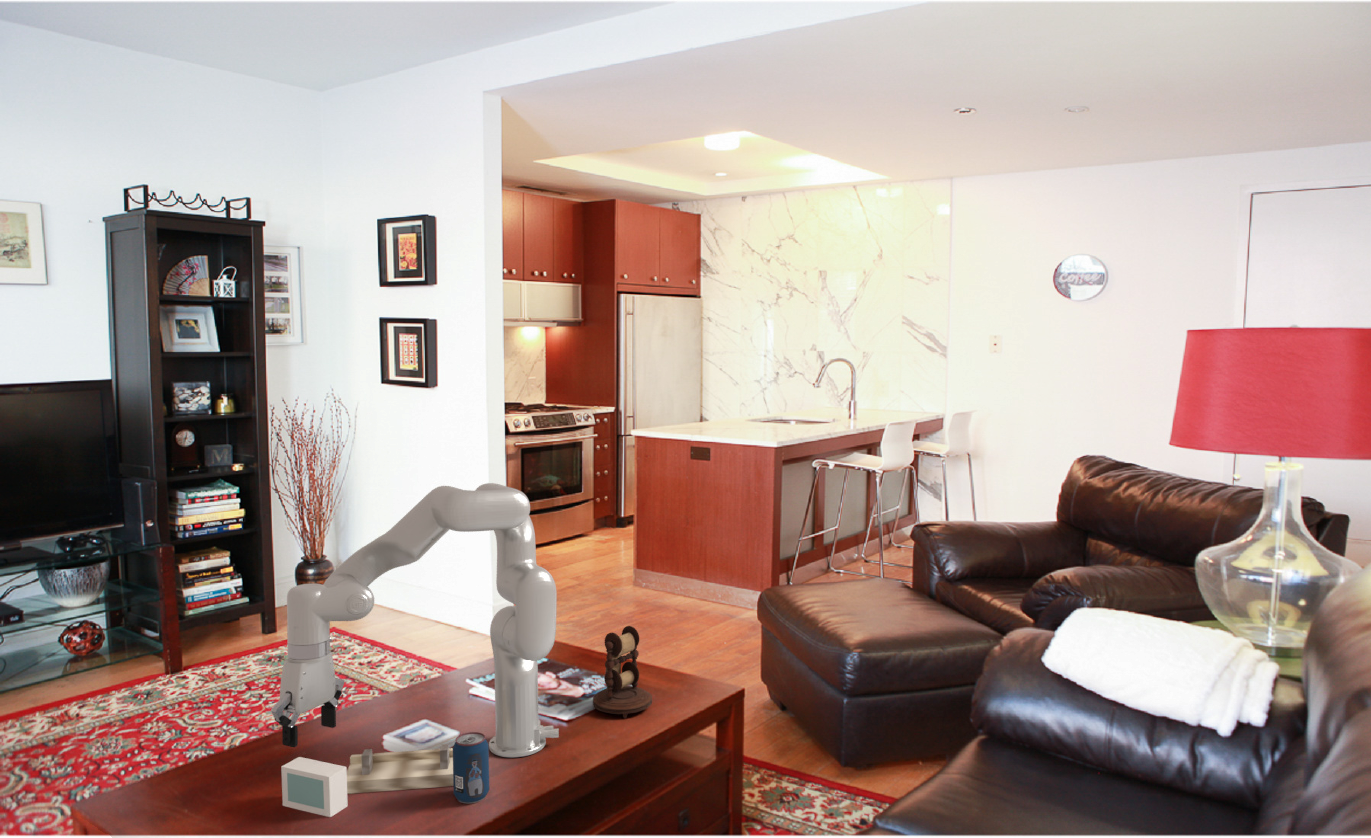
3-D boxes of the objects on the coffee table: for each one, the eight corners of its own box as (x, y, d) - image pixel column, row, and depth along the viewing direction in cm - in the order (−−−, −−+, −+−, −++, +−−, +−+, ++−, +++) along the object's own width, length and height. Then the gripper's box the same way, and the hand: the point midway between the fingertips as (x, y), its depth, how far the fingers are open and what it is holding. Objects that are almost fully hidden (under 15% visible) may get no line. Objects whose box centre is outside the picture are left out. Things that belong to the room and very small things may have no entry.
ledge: (468, 765, 188) (467, 735, 188) (464, 785, 179) (463, 754, 179) (351, 773, 185) (350, 743, 184) (341, 794, 176) (340, 762, 175)
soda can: (471, 785, 179) (470, 728, 179) (496, 793, 176) (495, 735, 175) (446, 799, 173) (444, 740, 173) (472, 808, 170) (470, 748, 169)
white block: (347, 806, 171) (346, 766, 171) (330, 817, 167) (328, 777, 166) (300, 795, 176) (299, 756, 175) (282, 806, 171) (281, 766, 171)
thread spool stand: (619, 692, 229) (618, 617, 228) (663, 705, 221) (663, 627, 219) (580, 710, 217) (579, 631, 216) (626, 725, 209) (625, 642, 207)
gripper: (327, 634, 179) (328, 716, 179) (257, 660, 163) (258, 750, 163) (356, 639, 176) (357, 722, 177) (288, 665, 160) (289, 757, 161)
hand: (309, 735), depth 170 cm, fingers open, 9 cm apart
